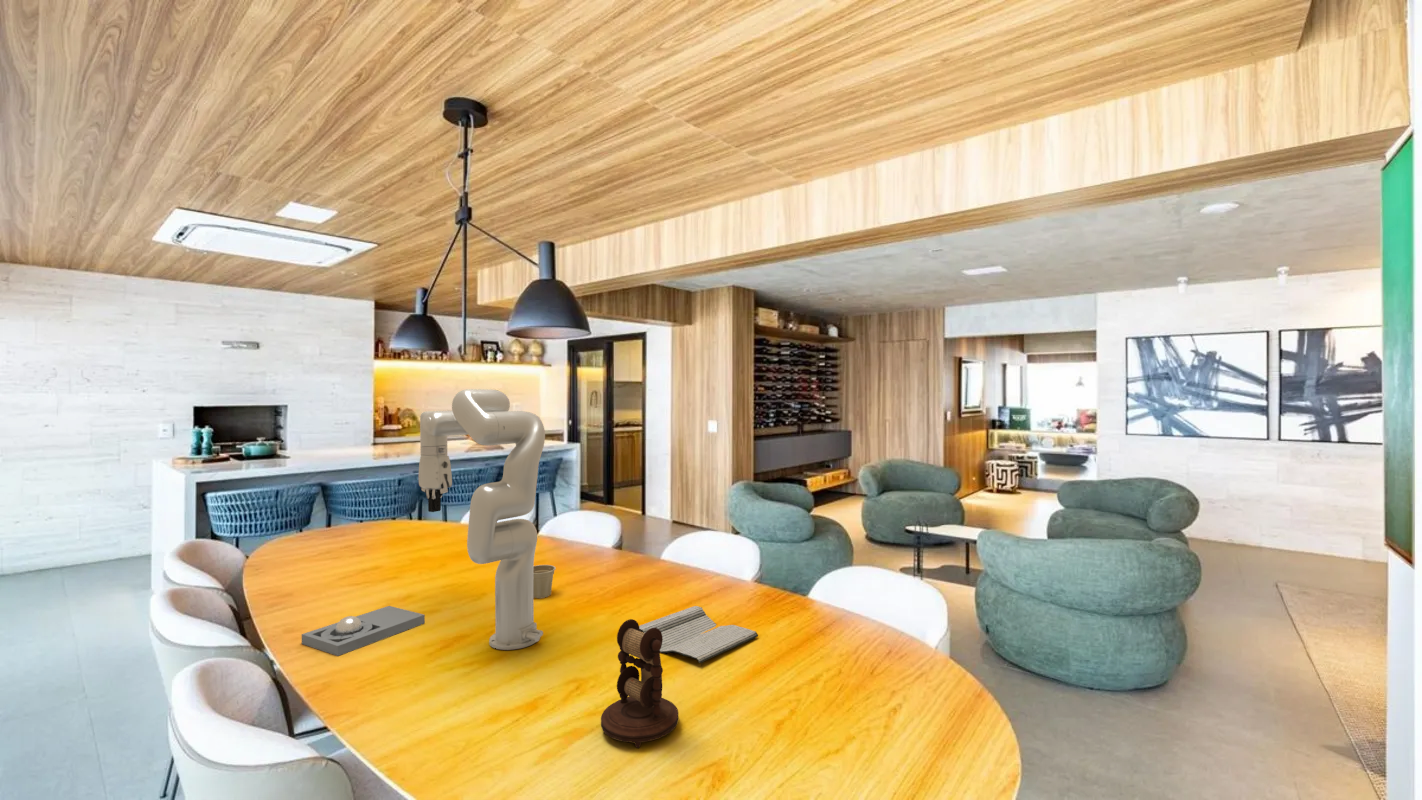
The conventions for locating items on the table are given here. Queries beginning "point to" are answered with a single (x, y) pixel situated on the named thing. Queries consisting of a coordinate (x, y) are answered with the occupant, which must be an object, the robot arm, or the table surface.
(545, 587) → the flower pot
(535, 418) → the robot arm
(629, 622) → the thread spool stand
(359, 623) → the steel ball
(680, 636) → the mat
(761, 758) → the table surface
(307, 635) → the hole board
